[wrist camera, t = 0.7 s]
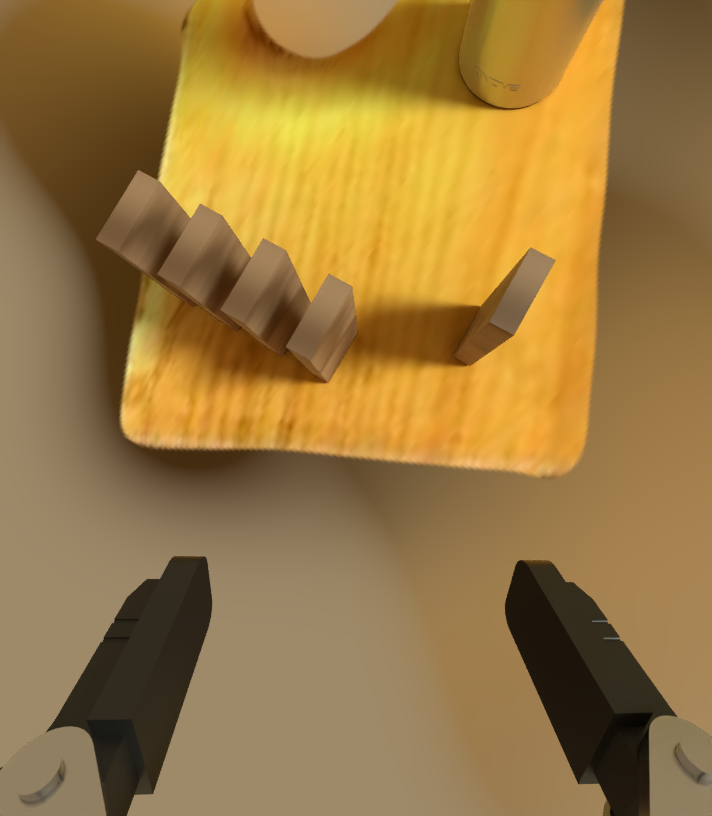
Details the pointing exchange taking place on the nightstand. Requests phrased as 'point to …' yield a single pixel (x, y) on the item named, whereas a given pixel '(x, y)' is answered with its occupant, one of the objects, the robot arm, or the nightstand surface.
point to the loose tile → (505, 307)
